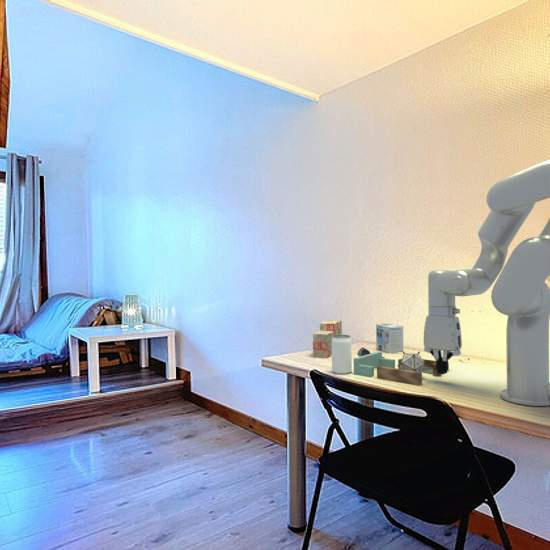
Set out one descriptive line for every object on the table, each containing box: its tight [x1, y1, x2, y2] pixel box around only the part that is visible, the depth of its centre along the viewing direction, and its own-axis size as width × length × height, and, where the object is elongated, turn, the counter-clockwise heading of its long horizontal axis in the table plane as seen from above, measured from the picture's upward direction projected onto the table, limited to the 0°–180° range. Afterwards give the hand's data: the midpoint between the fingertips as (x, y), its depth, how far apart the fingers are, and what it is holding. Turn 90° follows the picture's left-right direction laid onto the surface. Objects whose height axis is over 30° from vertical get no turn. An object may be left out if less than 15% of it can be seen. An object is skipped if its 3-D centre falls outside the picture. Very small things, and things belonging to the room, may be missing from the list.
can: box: [331, 334, 353, 375], centre depth 148 cm, size 6×6×12 cm
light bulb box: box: [375, 322, 404, 354], centre depth 183 cm, size 11×7×11 cm, turn 17°
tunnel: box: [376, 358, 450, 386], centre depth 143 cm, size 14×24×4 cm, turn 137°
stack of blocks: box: [312, 319, 343, 359], centre depth 182 cm, size 21×6×12 cm, turn 157°
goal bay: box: [353, 351, 396, 378], centre depth 148 cm, size 6×15×5 cm, turn 137°
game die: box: [396, 350, 428, 372], centre depth 139 cm, size 9×8×10 cm
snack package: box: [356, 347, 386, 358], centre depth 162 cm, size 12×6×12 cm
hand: (442, 373), depth 133 cm, fingers closed
